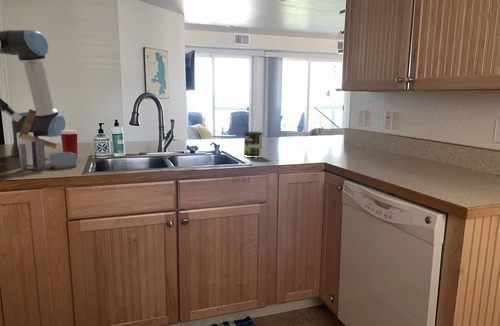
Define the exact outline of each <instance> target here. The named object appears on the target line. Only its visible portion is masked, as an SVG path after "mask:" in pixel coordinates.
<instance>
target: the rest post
mask: <svg viewBox="0 0 500 326" xmlns="http://www.w3.org/2000/svg"><path fill="white" fill-rule="evenodd" d="M19 156H20V157H19V165H20V171H22V172H28V168H29V167H28V165H27V156H26V145H25V144H19Z"/></svg>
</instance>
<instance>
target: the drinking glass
mask: <svg viewBox="0 0 500 326" xmlns="http://www.w3.org/2000/svg"><path fill="white" fill-rule="evenodd" d="M19 134H20V133H17V144H18V149H19V144H25V145H26V156H27V166H33V159H32V146H31V141H28V140H25V139H22V138H19ZM28 135H30V136H33V137H34V135H33V133H32V132H29V133H28Z"/></svg>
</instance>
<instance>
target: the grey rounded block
mask: <svg viewBox="0 0 500 326" xmlns="http://www.w3.org/2000/svg"><path fill="white" fill-rule="evenodd" d="M49 161H50V167H51V168H54V169H59V170H60V169H67V168H68V169H69V168H76V167H77V166H78V165H77V160H76V154H75V153H72V152H63V151H62V152H61V151H60V152H49Z"/></svg>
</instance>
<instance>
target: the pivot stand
mask: <svg viewBox="0 0 500 326" xmlns="http://www.w3.org/2000/svg"><path fill="white" fill-rule="evenodd" d="M44 140H45V139H43V138H39V139H35V142H36V143H35V142H32V141H31V146H32V159H33V165H28V168H29V169H30V170H31V171H34V172H37V171H38V172H39V171H49V169H50V167H51V166H47V164H46V155H45V153H46V152H45V145H44Z"/></svg>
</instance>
